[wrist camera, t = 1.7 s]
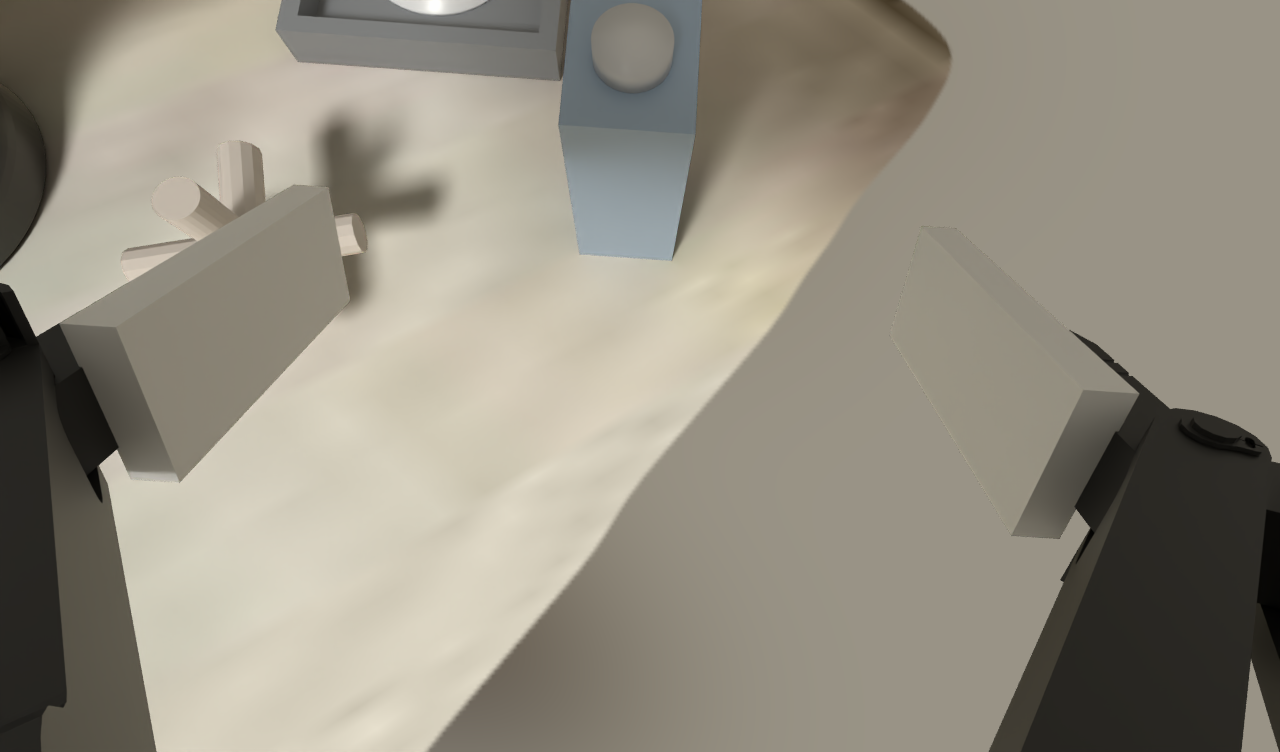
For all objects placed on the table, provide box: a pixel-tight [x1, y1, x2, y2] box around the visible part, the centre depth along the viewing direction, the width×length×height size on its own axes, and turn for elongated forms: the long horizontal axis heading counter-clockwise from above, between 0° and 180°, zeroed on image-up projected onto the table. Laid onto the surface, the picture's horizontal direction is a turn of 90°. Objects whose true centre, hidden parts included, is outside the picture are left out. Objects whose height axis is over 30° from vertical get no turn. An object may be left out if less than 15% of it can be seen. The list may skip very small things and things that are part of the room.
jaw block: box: [559, 0, 702, 261], centre depth 30 cm, size 5×6×13 cm
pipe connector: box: [121, 141, 367, 282], centre depth 30 cm, size 10×10×10 cm
